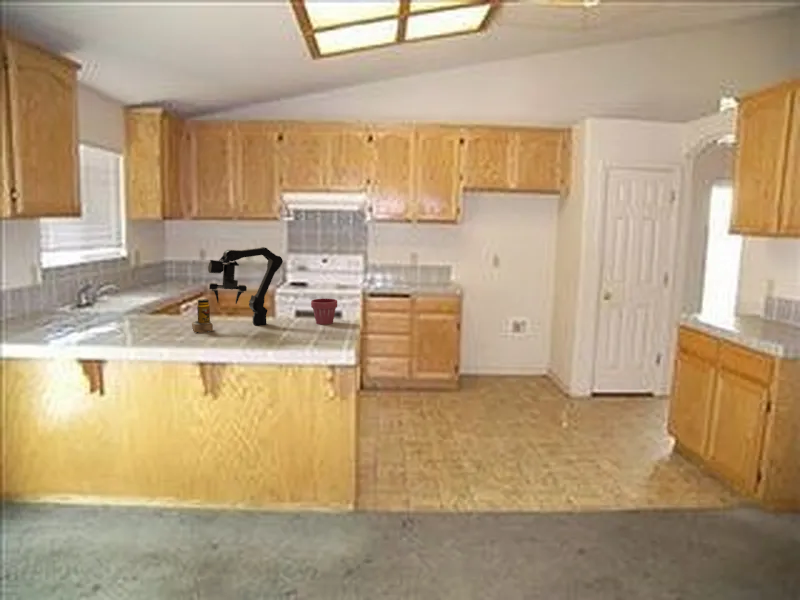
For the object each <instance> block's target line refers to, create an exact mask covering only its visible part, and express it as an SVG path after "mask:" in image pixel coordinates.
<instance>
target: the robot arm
mask: <svg viewBox="0 0 800 600" xmlns="http://www.w3.org/2000/svg"><path fill="white" fill-rule="evenodd" d="M257 256H263V257H264V258H265V260H267V264H266V265H267V266H266V271H265V274H264V276H263V278H262V281H261V282H260V285H259V287H258V289H257V291H256V294H255V295H251V296H250V299H249V300H248V306H249V309H250V310H252V312H253V315H252V324H253V325H254V324H255V325H254V326H267V325H268V323H267V314H268V309H267V308H266V307H265V306H264V305H265V298H266V295H267V292H268V290H269V288H270V285H271V284H272V283H271V282H272V281H273V278H274V276H275V274H276V272H277V271H278V270H279V269H280V267H281V266H282V265H283V261H284V260H283V258H282V257H281V255H276V254H275V253H274V252H272V251H271V250H269V249H268V247H266V246H265V247H264V246H261V247H257V248H256V247H255V248H250V249H249V248H248V249H241V250H239V249H238V250H237V249H226V250H224V252H223V253H222V256H221V257H220V258H219V259H218V260H216V259H215V260H214V259H210V260H209V264H208V266H207V268H208V273H209V274H222V284H218V283H216V282H215V283H214V282H210V283H209V286H208V288H209V290H211V291H212V292H214V295H215V298H216V302H217V304H219V290H218V289H223V290H237V292H236V297H235V305H237V304H238V301H239V298H240V296H241V295H242V294H243V293H244V292H247V289H248V288H247V286H246V285H245V284H238V282H239V281H238V279H235V272H236V267H239V266H240V264H239V263H238V262H237V261H238V260H240V259H244V258H250V257H257ZM266 324H267V325H266Z"/></svg>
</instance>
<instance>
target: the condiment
mask: <svg viewBox="0 0 800 600" xmlns="http://www.w3.org/2000/svg"><path fill="white" fill-rule="evenodd" d="M209 301H210V300H209V299H206V298H204V299H203V298H201V299H198V300H197V307H196V308H197V320H195V321H193V322H194V323H193V322H192V323H193V324H210V323H212V320H211V313H210V312H211V311H210V309H211V307H210V303H209Z"/></svg>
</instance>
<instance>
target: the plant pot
mask: <svg viewBox="0 0 800 600" xmlns="http://www.w3.org/2000/svg"><path fill="white" fill-rule="evenodd" d="M310 305H311V309H312V310H313V314H314V319H315V323H316V324H317V325H320V326H321V325H323V326H325V325H326V326H327V325H332V324H333V323H334V318H335V315H336V314H335V313H336V309H337V308H338V299H335V298H315V299H314V298H313V299H312V300H311V302H310Z"/></svg>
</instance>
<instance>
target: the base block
mask: <svg viewBox="0 0 800 600" xmlns="http://www.w3.org/2000/svg"><path fill="white" fill-rule="evenodd" d="M194 322H195V321H192V323H191V330H192V329H193V330H192V332H199V333H208V332H207V331H213V332H214V329H213V328H214V325H213V322H211V323H210V324H193V323H194Z"/></svg>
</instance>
